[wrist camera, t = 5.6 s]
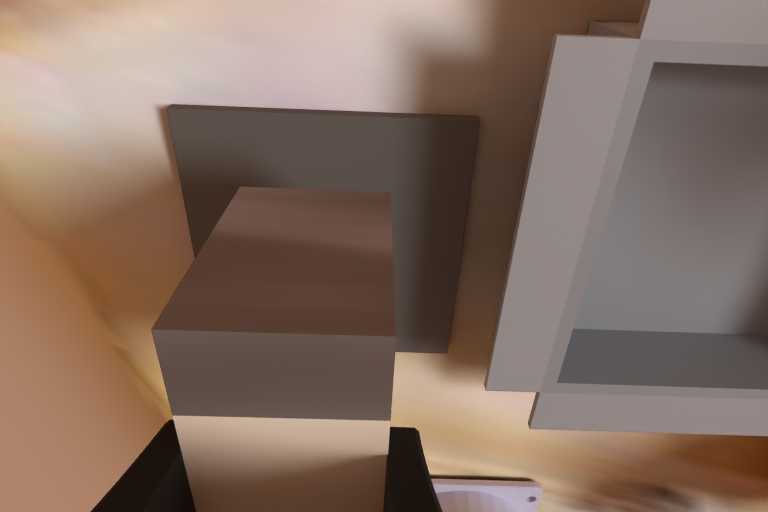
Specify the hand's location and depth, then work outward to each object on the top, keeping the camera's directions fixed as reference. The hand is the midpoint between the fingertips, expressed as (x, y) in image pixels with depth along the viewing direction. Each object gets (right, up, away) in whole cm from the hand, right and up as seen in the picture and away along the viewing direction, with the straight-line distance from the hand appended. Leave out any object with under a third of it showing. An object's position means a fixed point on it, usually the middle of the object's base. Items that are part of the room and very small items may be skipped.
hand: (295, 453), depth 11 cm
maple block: (0, +3, +4) cm, 5 cm away
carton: (+14, +6, +7) cm, 17 cm away
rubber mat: (0, +5, +8) cm, 9 cm away
